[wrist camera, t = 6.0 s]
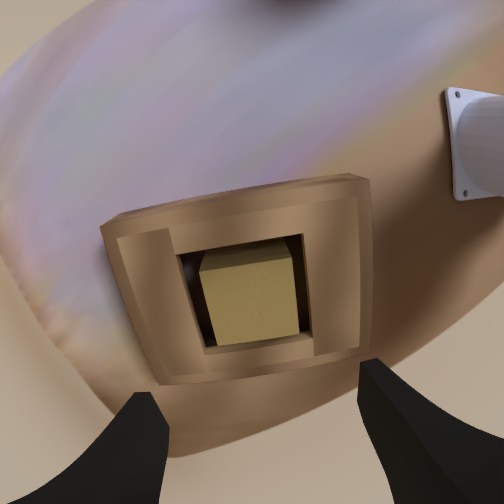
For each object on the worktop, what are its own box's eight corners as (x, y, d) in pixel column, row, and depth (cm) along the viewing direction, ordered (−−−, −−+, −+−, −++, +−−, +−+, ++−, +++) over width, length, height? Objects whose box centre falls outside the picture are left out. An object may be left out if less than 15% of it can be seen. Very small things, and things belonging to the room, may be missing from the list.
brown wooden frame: (349, 173, 17) (369, 179, 14) (355, 328, 21) (369, 352, 18) (119, 213, 17) (99, 226, 14) (167, 358, 21) (159, 385, 18)
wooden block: (281, 233, 18) (291, 257, 14) (288, 299, 20) (299, 333, 16) (207, 245, 18) (198, 271, 14) (221, 309, 20) (217, 345, 16)
